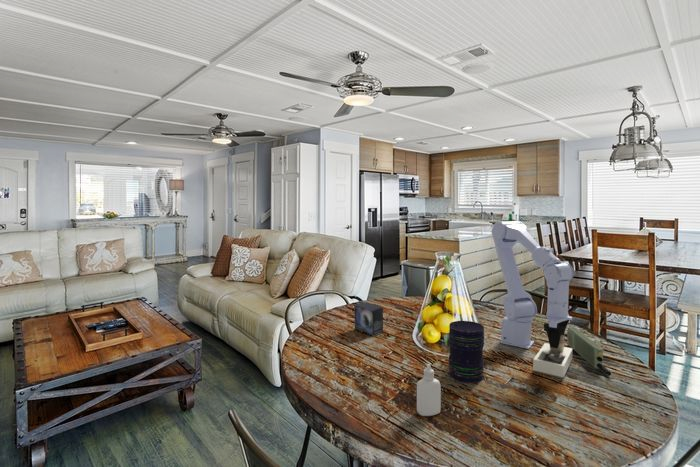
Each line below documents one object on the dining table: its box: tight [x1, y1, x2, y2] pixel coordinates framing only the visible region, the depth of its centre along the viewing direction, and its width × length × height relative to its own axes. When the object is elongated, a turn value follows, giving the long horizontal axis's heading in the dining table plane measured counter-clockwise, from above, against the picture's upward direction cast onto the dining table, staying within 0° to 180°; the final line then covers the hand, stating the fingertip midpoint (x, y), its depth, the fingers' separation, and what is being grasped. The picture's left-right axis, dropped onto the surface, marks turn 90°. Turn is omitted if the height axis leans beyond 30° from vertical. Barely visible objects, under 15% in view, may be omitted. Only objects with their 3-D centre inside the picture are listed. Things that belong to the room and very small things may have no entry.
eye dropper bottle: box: [416, 363, 442, 417], centre depth 92 cm, size 4×6×12 cm
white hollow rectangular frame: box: [532, 342, 574, 380], centre depth 117 cm, size 16×8×4 cm, turn 142°
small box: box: [353, 301, 384, 336], centre depth 149 cm, size 11×6×10 cm, turn 42°
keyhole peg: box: [549, 334, 566, 363], centre depth 119 cm, size 4×4×8 cm
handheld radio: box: [566, 326, 612, 376], centre depth 121 cm, size 7×3×25 cm
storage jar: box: [448, 320, 485, 384], centre depth 110 cm, size 10×10×15 cm
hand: (556, 343), depth 119 cm, fingers open, 7 cm apart
